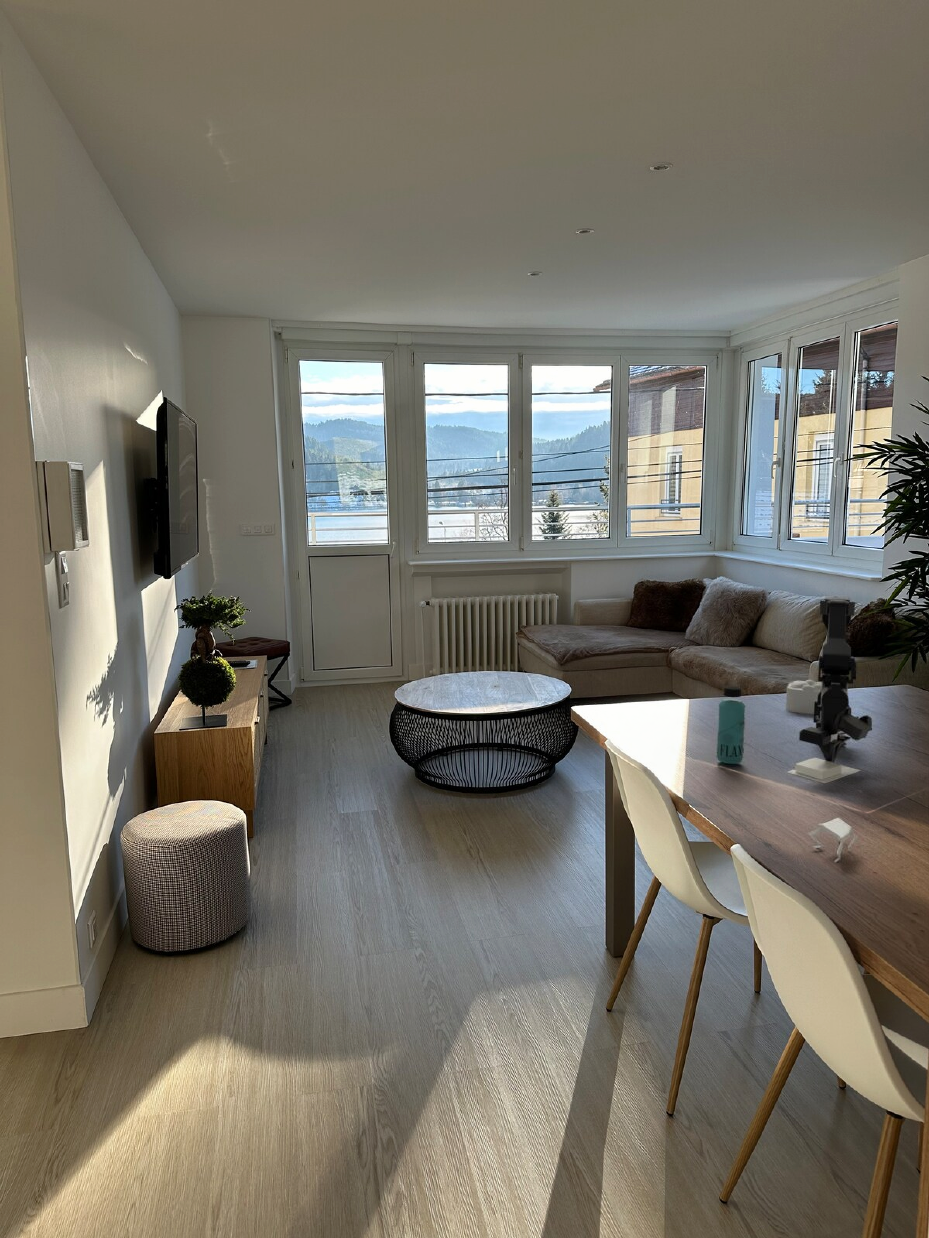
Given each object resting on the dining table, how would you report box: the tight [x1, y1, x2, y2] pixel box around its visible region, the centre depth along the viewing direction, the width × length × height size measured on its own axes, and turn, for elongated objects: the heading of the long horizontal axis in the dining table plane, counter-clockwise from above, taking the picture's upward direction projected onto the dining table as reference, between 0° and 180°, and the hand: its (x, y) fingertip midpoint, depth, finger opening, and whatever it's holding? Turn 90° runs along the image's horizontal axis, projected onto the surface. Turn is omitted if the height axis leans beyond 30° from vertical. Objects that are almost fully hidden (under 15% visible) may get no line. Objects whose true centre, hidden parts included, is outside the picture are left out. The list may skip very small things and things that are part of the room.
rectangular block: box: [794, 757, 842, 780], centre depth 202 cm, size 7×2×8 cm
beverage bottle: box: [715, 685, 746, 765], centre depth 208 cm, size 6×7×20 cm
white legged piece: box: [807, 817, 858, 863], centre depth 159 cm, size 12×8×5 cm
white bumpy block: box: [785, 679, 822, 715], centre depth 260 cm, size 10×13×9 cm
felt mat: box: [787, 764, 862, 784], centre depth 204 cm, size 10×15×1 cm, turn 125°
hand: (830, 764), depth 205 cm, fingers closed
